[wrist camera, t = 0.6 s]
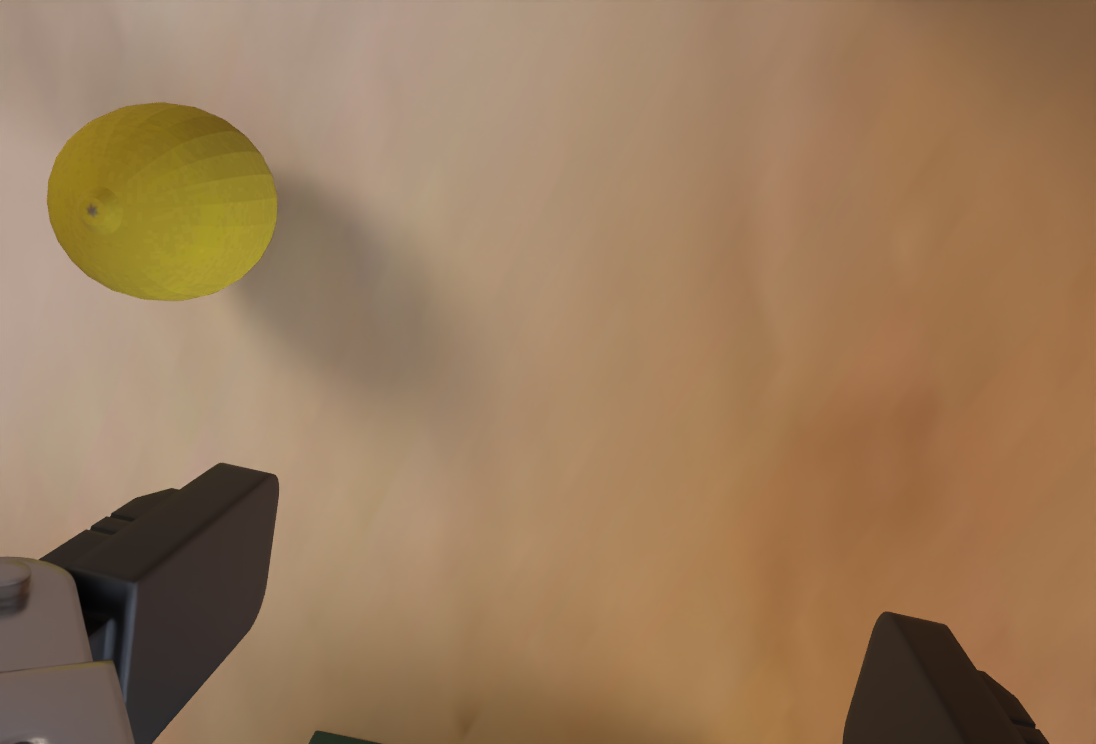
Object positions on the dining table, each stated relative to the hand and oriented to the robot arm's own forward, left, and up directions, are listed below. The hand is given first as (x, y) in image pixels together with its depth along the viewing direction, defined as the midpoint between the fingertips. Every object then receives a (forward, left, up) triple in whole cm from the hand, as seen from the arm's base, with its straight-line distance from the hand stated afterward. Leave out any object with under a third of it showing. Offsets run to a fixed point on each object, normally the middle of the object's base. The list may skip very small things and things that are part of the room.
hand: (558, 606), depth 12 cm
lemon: (-2, -13, -19) cm, 23 cm away
